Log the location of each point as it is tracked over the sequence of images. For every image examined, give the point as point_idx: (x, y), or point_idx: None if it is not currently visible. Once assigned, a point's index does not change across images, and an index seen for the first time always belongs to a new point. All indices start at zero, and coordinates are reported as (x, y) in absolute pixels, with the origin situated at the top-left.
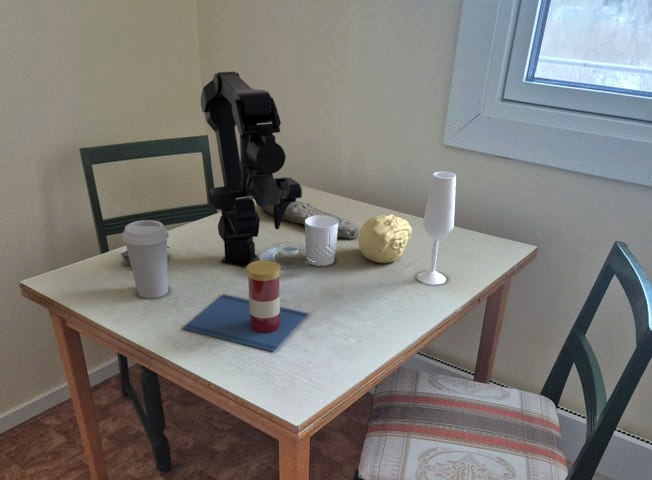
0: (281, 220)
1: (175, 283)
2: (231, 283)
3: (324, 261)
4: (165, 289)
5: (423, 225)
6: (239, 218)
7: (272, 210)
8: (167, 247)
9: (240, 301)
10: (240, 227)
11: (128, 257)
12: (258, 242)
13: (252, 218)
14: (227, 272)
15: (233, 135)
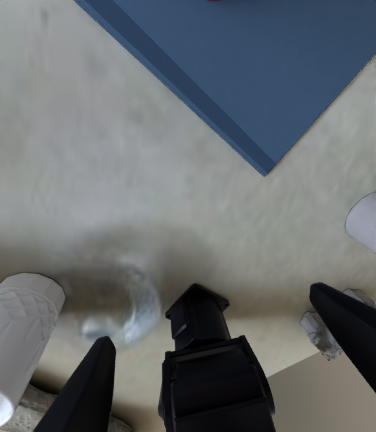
0: (55, 399)
1: (324, 240)
2: (232, 226)
3: (15, 280)
4: (366, 206)
5: None
6: (233, 406)
7: (119, 430)
8: (313, 333)
9: (240, 132)
10: (221, 371)
11: None
12: (153, 355)
13: (187, 409)
14: (228, 267)
15: None
